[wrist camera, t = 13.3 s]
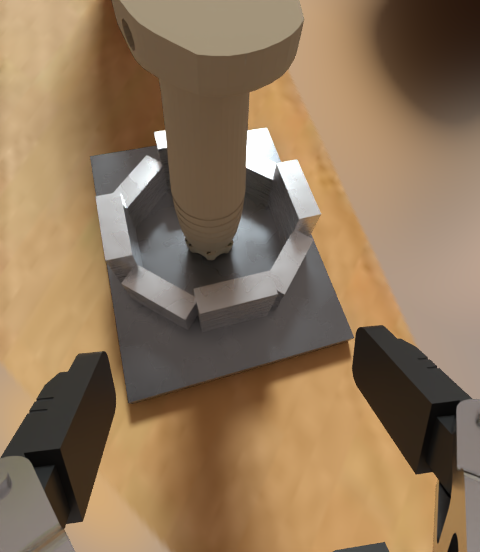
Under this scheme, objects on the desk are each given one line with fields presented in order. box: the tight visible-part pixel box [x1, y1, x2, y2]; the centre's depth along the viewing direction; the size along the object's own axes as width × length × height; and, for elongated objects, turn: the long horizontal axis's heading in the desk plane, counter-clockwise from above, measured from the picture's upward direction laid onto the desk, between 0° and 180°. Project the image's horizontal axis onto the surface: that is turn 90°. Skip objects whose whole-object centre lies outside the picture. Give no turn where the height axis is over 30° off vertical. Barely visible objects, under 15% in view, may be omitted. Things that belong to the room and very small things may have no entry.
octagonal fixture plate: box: [90, 128, 354, 404], centre depth 22 cm, size 14×18×5 cm
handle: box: [112, 0, 304, 260], centre depth 16 cm, size 5×6×15 cm
